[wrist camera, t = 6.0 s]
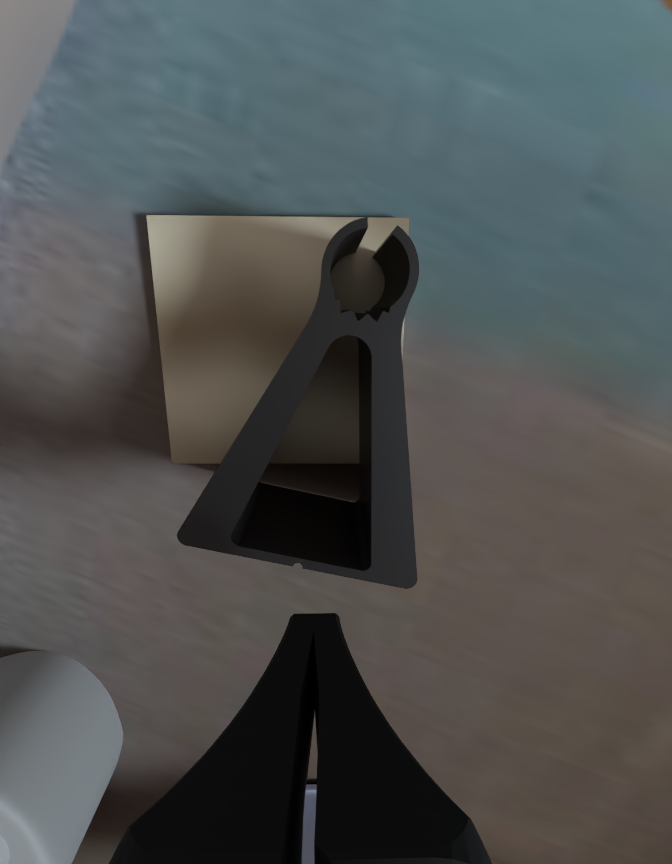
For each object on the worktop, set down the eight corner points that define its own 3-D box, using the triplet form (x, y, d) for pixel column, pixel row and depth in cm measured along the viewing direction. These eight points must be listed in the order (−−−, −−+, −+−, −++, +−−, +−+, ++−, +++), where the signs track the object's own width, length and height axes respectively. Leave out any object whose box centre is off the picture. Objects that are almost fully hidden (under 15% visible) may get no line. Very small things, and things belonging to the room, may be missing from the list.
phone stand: (174, 543, 16) (231, 180, 12) (216, 480, 21) (262, 221, 18) (414, 591, 16) (524, 259, 13) (392, 517, 22) (465, 274, 19)
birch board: (395, 458, 22) (397, 463, 21) (177, 458, 22) (172, 463, 21) (405, 221, 19) (408, 218, 18) (153, 219, 19) (146, 215, 18)
